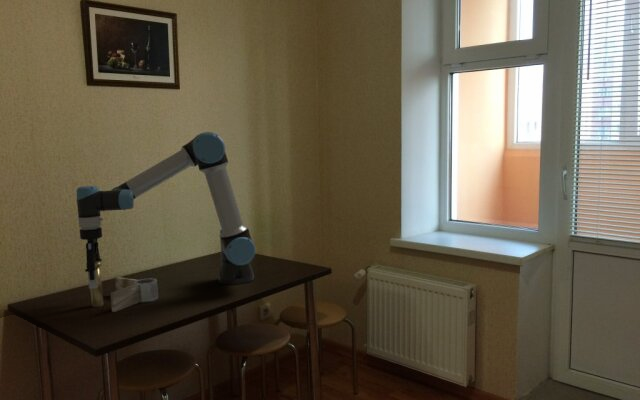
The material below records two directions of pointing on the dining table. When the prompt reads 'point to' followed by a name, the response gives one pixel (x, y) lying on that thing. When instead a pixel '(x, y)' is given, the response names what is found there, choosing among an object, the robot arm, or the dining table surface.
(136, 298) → the hinge leaves
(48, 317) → the dining table surface
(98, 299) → the hinge pin
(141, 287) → the knuckle barrel
